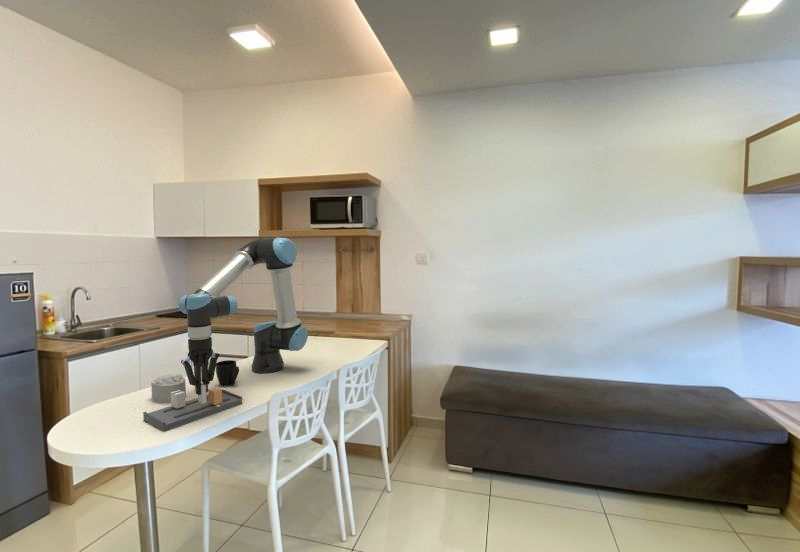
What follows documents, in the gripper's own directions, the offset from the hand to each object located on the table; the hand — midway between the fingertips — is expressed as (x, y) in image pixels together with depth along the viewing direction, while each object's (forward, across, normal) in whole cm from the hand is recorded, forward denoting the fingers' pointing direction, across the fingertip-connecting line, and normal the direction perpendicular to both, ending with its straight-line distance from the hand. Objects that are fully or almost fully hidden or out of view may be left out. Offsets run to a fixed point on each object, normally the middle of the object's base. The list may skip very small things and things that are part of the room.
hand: (202, 402), depth 141 cm
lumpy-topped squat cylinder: (+5, 0, -25) cm, 26 cm away
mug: (+4, -22, -20) cm, 30 cm away
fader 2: (+2, -5, 0) cm, 5 cm away
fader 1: (+2, +5, -8) cm, 9 cm away
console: (+4, +1, -4) cm, 6 cm away
